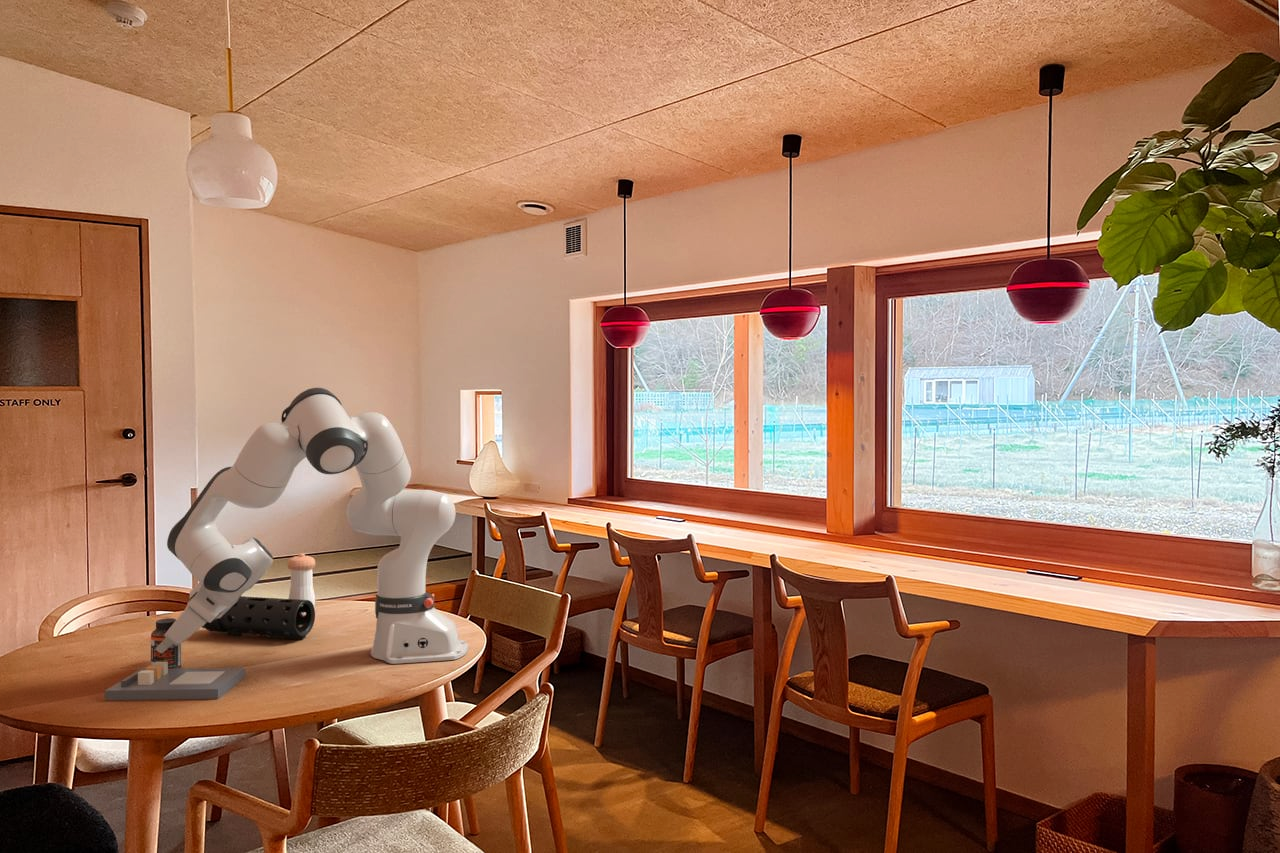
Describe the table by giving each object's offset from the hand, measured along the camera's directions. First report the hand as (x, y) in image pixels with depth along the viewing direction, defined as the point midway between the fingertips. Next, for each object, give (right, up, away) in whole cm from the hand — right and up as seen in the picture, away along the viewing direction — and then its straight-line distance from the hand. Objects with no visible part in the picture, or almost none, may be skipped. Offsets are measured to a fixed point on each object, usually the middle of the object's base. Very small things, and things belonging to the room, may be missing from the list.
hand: (162, 646), depth 195 cm
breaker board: (+9, -6, -11) cm, 16 cm away
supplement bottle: (+1, -6, 0) cm, 6 cm away
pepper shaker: (+15, -5, +40) cm, 43 cm away
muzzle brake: (+8, -5, +29) cm, 30 cm away
